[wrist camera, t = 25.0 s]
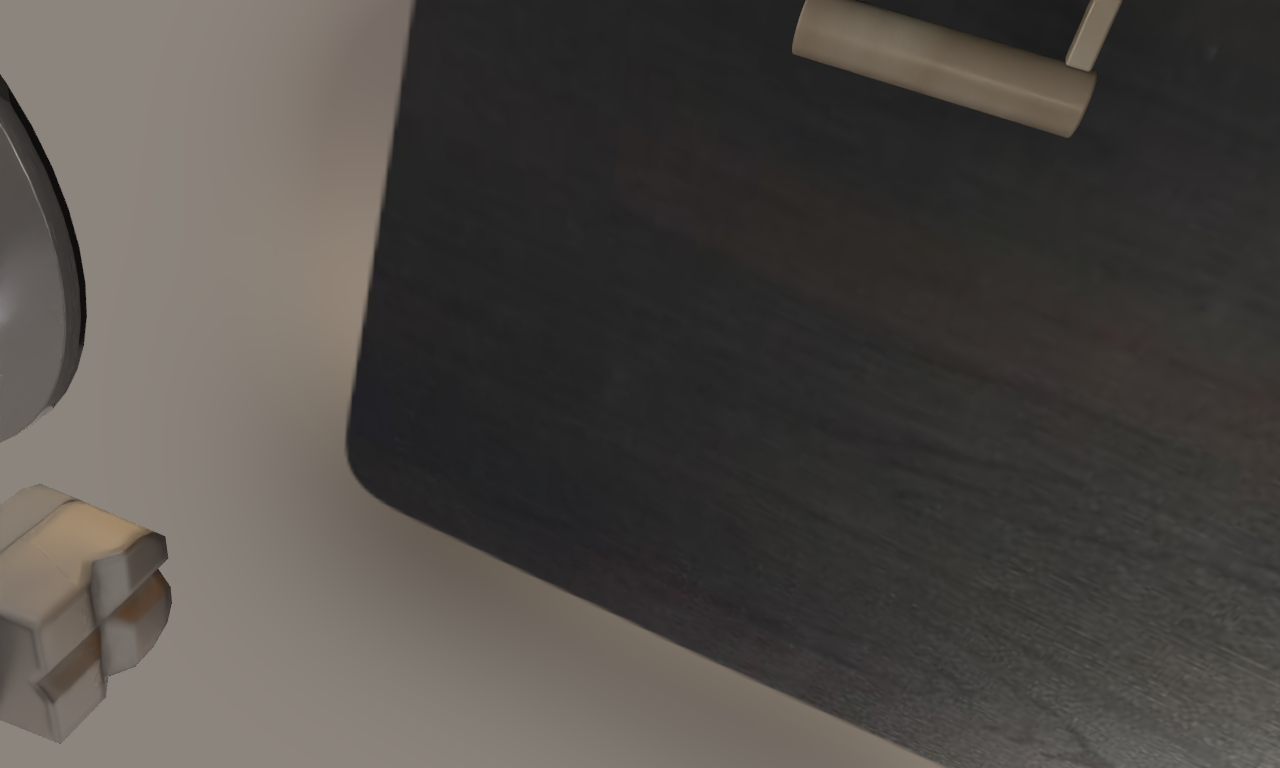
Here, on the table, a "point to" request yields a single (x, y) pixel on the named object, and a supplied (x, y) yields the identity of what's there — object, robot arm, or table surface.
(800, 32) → the drawer
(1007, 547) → the table surface
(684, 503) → the table surface
